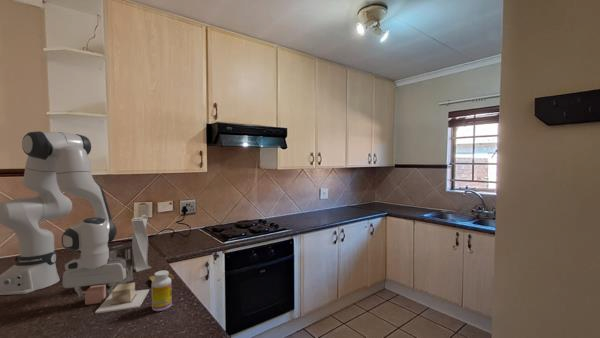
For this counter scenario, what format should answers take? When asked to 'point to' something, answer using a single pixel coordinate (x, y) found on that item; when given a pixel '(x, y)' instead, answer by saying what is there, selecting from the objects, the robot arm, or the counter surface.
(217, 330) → the counter surface
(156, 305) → the supplement bottle
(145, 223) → the skyscraper
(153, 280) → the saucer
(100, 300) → the coral cube
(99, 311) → the white flat square slab
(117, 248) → the coffee box
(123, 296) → the birch block
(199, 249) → the counter surface
